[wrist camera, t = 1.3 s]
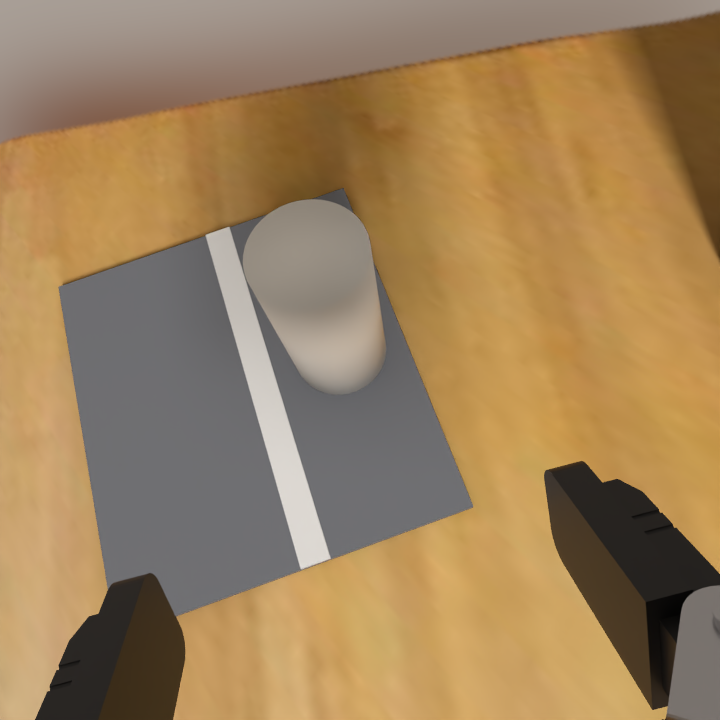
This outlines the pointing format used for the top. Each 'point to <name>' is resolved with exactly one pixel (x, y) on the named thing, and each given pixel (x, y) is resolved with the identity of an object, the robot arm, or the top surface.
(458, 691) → the top surface
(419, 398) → the gray striped mat
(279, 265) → the white cylinder
